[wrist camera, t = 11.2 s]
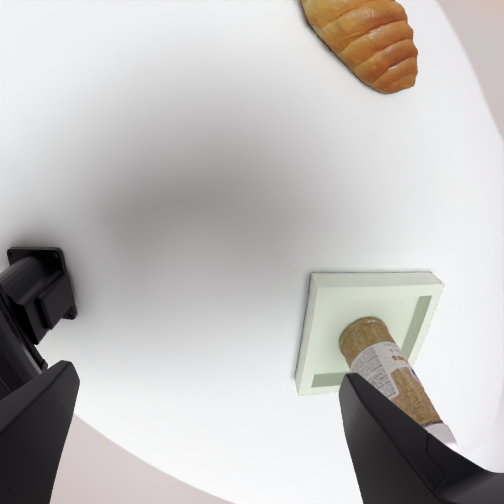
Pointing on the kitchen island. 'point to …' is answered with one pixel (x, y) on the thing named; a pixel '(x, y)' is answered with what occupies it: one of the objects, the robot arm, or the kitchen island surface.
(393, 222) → the kitchen island surface
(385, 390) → the sprinkles bottle
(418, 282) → the tray
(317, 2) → the pastry
